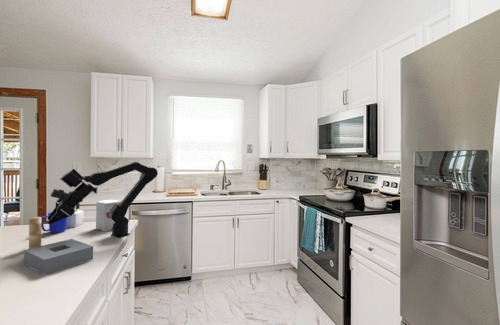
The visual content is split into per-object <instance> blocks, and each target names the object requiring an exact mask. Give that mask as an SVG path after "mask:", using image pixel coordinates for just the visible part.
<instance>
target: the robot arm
mask: <svg viewBox="0 0 500 325" xmlns="http://www.w3.org/2000/svg"><path fill="white" fill-rule="evenodd" d="M134 171H137V172H139V173H141V174H140V177H139V179H138V181H137V182H136V183H135V184H134V185H133V187H132V188H131V189H130V191H129V192H128V193H127V194H126V196H125V197H124V198H123V199H122V200H121V202H120V203H119V204H118V205H117V204H116V203H115V204H114V205H113V207H112V208H111V209H110V212H109V217H110V218H111V219H112V220H113V221H114V222H115V223H114V224H113V227H112V230H111V234H110V236H111V237H115V238H117V239H118V238H123V237H126V236H129V235H130V234H131V233H129V222H130V220H129V219H128V218H127V217H126V214H127V213H128V210H129V207H130V206H131V205H132V204H133V202H134V200H136V198H137V197H138V196H139V195H140V193H141V192H142V191H143V190H144V188H145V187H146V185H148V184H149V183H151V182H152V181H153V180H154V179H156V178H157V176H158V174H159V173H158V170H157V168H155V167H151V166H146V165H144V164H142V163H139V162H138V161H133V162H130V163H128V164H125V165H122V166H119V167H115V168H112V169H110V170H104V171H99V172H97V171H96V172H93V173H91V174H90V175H81V174H80V173H78V171H77V170H76V169H75V168H73V169H71V170H69V171H68V172H66V173H65V174H64V175H62V177H60V180H61V181H62V182H63V183H64V184H66V185H67V186H68V187H69V188H73V187H74V188H75V189H73V190H71V191H69V192H67V191H66V192H65V190H63V189H57V188H53V190H52V192H51V193H50V197H51V198H56V199H57V200H56V201H55V207H54V209H53V210H52V211H50V212H51V214H50V215H49V216H48V215H47V216H48V217H46V219H47V220H48V221H47V224H48V225H49V224H52V223H54V222H57V221H59V220H61V219H64V218H67V217H69V215H70V216H72V215H73V214H74V213H75V210H74V208H75V206H76V205H77V204H79V203H82V202H83V201H84V199H86V198H87V197H88V196H89V195H90V194H91V193H92V192H93V193H94V194H96V195H97V194H98V191H97V190H98V187H97V186H101V185H103V184H105V183H107V182H109V181H110V180H112V179H113V178H116V177H119V176H122V175H124V174H128V173H131V172H134ZM85 182H86V183H85ZM94 186H96V187H94Z"/></svg>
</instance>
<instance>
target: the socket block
mask: <svg viewBox="0 0 500 325" xmlns="http://www.w3.org/2000/svg"><path fill="white" fill-rule="evenodd" d="M91 260H94V246H93V245H90V244H87V243H85V242H82V241H79V240H76V239H74V238H70V239H65V240H60V241H57V242H52V243H48V244H43V245H41V246H39V247H35V248H31V249H29V248H27V249H24V250H23V264H24V265H26V266H28V267H29V268H31V269H33V270H35V271H37V272H39V273H41V274H43V275H47V274H51V273H55V272H58V271H60V270H62V269H66V268H69V267H73V266H75V265H79V264H81V263H82V264H83V263H84V262H87V261H88V262H89V261H91Z"/></svg>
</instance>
